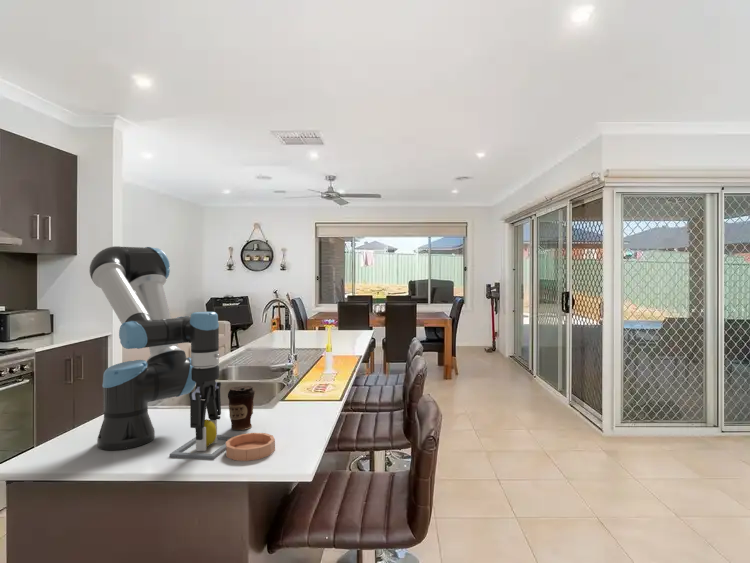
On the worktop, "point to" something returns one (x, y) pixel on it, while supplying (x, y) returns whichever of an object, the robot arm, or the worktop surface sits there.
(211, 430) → the lemon
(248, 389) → the coffee cup
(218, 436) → the gray rectangular frame
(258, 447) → the bowl
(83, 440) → the worktop surface
